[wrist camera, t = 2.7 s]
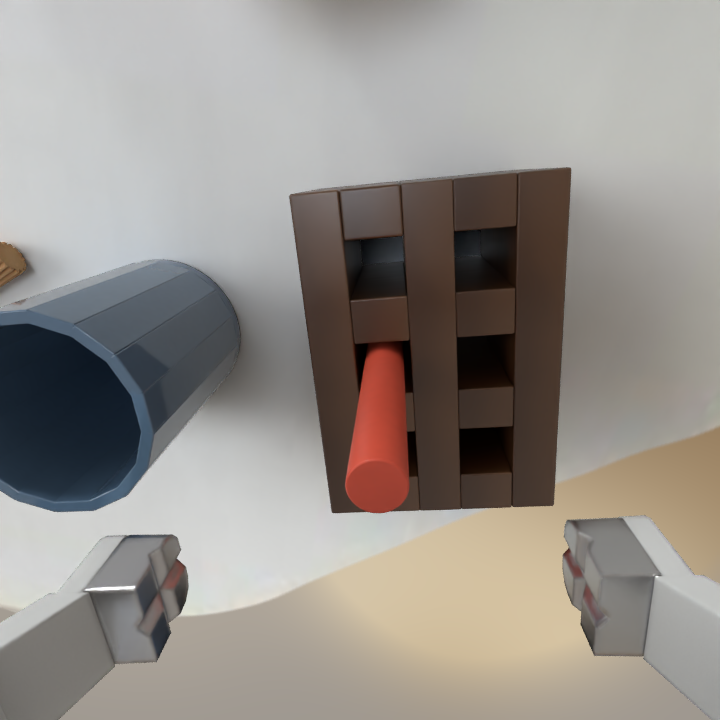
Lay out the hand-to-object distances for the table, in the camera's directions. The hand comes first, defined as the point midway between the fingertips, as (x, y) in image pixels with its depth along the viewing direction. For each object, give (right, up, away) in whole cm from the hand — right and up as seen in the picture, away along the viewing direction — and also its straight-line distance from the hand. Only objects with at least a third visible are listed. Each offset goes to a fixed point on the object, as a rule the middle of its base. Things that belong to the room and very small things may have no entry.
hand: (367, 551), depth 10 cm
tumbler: (-11, +6, +18) cm, 22 cm away
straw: (+1, +6, +17) cm, 18 cm away
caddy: (+3, +7, +17) cm, 18 cm away
